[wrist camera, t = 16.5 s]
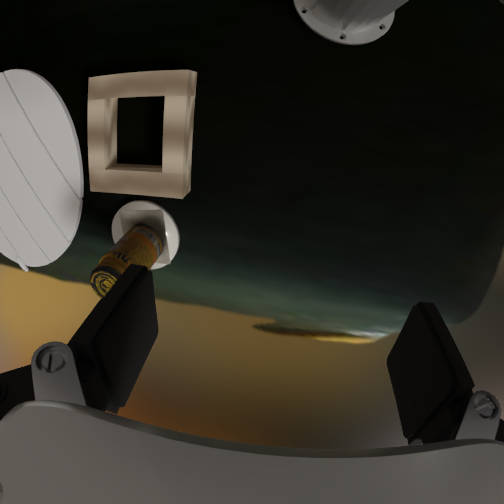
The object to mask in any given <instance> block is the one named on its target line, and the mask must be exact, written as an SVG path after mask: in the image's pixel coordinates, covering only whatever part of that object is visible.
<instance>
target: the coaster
mask: <svg viewBox="0 0 504 504" xmlns="http://www.w3.org/2000/svg"><path fill="white" fill-rule="evenodd" d="M136 210H138V211H163V215H164V222H165V229H166V236H167V242H168V250H169V257H170V261H171V260H172V259H173V258H174V256H175V254H176V253H177V251H178V248H179V243H180V235H179V230H178V227H177V224H176V222H175V220H174V219H173V217H172V216H171V215H170V213H169V212H168V211H167V210H166V209H164V208H163V207H162V206H160V205H158V204H157V203H154V202H152V201H148V200H135V201H131V202H129V203H127V204H126V205H124V206H123V207H122V208H121V209H119V210H118V212H117V213H116V215H115V217H114V219H113V223H112V236H113V240H114V243H117V241H119V239H120V238H122V236H123V231H122V225H121V219H120V214H119V211H136ZM165 265H167V264H161V263H154V265H153V266H152V267H151V269H157V268H161V267H163V266H165Z"/></svg>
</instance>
